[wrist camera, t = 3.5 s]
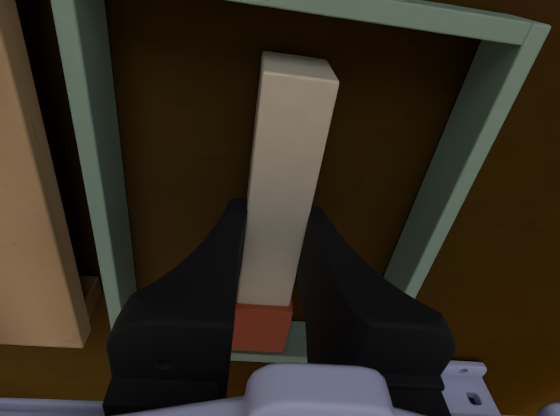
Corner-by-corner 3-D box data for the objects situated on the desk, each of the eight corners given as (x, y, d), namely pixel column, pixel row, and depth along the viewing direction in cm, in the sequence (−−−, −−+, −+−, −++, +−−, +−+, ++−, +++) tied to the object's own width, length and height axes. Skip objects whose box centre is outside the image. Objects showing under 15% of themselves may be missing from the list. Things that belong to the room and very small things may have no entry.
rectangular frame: (509, 14, 12) (553, 25, 10) (370, 332, 21) (380, 368, 19) (77, -56, 10) (38, -57, 9) (128, 317, 20) (114, 355, 18)
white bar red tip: (331, 59, 13) (347, 85, 10) (281, 303, 19) (283, 352, 17) (257, 49, 12) (256, 73, 10) (232, 300, 19) (228, 350, 17)
